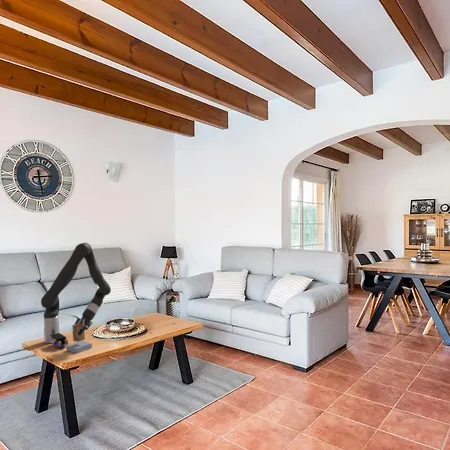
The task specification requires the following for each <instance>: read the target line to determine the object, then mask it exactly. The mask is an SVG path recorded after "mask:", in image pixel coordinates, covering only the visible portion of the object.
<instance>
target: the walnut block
mask: <svg viewBox="0 0 450 450" xmlns="http://www.w3.org/2000/svg"><path fill="white" fill-rule="evenodd" d="M71 326H72V327H71V328H72V332H73V333H72V340H73V341H74V342H79V341H84V340H85V339H86V336H85V331H83V333H82V334H81V336H79V335H78V332H79V331H80V329H81V328H82V326H83V324H81V323H79V324H75V323H74V324H72V325H71Z"/></svg>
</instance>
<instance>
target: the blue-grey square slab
mask: <svg viewBox="0 0 450 450" xmlns="http://www.w3.org/2000/svg"><path fill="white" fill-rule="evenodd" d="M65 348H66V349H65V350H66V351H68V352H72V353H75V354H79V353H82V352H84V351H87V350H90V349H92V348H93V344H92V342H88V341H84V340H81V341H79V342H77V341H75V342H72V343H70V344H67V345H65Z"/></svg>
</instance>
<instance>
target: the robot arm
mask: <svg viewBox="0 0 450 450" xmlns="http://www.w3.org/2000/svg"><path fill="white" fill-rule="evenodd" d="M93 251H94V250H93V247H92V246H91V244H90V243H88V242H81V243H79V244H77V245H76V246H75V248H74V250H73V251H72V254H71V255H70V258H69V259H68V260H67V262H66V263H65V264H64V265H63V267H62V268H61V269H60V271H59V273H58V275H57V276H56V278H55V279H54V281H53V283H52V284H51V286H50V288H49V289H48V290H47V291H46V292H45V294H44V295H43V296H42V297H41V300H40V304H41V307H42V308H45V310H44V313H43V326H44V327H43V338H44V343H46V344H52V340H53V337H52V336H50V335H51V334H56V333H60V320H59V317H60V316H59V313H60V297H59V295H60V294H61V292H62V291H63V290H64V289H65V288H66V287H67V286H68V285H70V283H71V281H72V280H73V278H74V277H75V275H76V273H77V271H78V267H79V265H80V264H81V262H82V260H83V259H84V260H85V262H86V264H87V267H88V272H89V274H90V277H91V279H92V281H93V283H94V284H95V285H96V286H97V287H98V288H97V290H96V291H95V294H94V295H93V298H91V301H90V302H89V303H88V304H87V306H86V308H85V309H84V311H83V312H82V315H81V318H79V317H77V319H75V320H76V321H75V322H74V324H79V323H81V324H83V326H82V328H81V329H80V331H79V332H78V335H79V336H81V334H82V333H83V331H84V332H85V331H87V330H88V329H89V328H90V327H91V325H93V322H92V321H93V319H94V318H95V316H96V315H97V313H98V312H99V310H100V307H102V304H103V303H104V299H105V298H106V296H108V295H109V294H111V291H112V290H111V286H110V284H109V282H108V281H107V280H106V279H105V278H104V276H103V274H102V272H101V271H102V270H101V269H100V267H99V265H98V263H97V260H96V258H95V255H94V252H93ZM71 333H72V334H73V331H72V332H71Z"/></svg>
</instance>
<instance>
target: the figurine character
mask: <svg viewBox="0 0 450 450" xmlns="http://www.w3.org/2000/svg"><path fill="white" fill-rule="evenodd" d="M50 336H52V337H53V340H52V343H51V344H52V345H53V346H55V347H57V348H58V349H59V350H61V349H62V347H63V348H66V346H67V345H69V339H67V336H66V335H63V334H62V333H60V332H59V333H56V334H51V335H50Z"/></svg>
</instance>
